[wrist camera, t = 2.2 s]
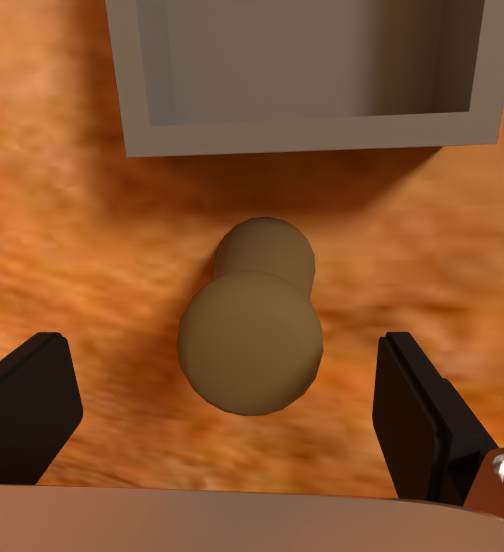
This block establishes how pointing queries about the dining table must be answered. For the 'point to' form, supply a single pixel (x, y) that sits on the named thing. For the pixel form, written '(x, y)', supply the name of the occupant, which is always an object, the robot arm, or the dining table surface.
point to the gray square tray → (306, 74)
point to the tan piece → (254, 322)
